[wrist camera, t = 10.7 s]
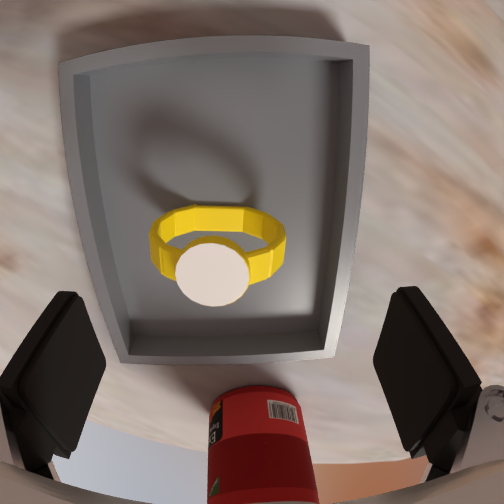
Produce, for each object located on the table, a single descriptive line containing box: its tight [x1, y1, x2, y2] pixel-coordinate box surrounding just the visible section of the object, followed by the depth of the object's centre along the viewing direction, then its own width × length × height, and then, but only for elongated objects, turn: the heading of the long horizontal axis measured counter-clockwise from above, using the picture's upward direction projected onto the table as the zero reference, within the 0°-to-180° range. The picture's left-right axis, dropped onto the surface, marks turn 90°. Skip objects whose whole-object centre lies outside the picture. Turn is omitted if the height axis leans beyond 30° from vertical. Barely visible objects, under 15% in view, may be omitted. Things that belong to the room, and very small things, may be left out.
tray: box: [59, 35, 370, 365], centre depth 16 cm, size 14×18×2 cm
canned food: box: [207, 386, 319, 504], centre depth 21 cm, size 8×8×11 cm
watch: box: [149, 204, 286, 307], centre depth 14 cm, size 6×3×6 cm, turn 86°
